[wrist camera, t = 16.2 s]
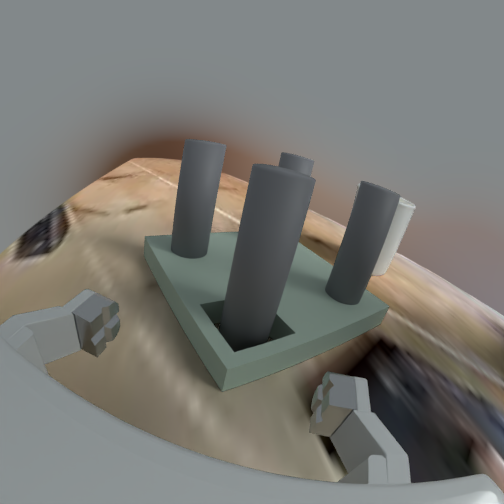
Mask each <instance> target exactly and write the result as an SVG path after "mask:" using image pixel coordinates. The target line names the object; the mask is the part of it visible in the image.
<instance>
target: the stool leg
mask: <svg viewBox="0 0 504 504" xmlns="http://www.w3.org/2000/svg"><path fill="white" fill-rule="evenodd" d="M315 181H316V180H315V179H314V178H312V177H310V176H308V175H305V174H303V173H300V172H297V171H294V170H290V169H286V168H282V167H278V166H273V165H266V164H253V166H252V171H251V175H250V180H249V185H248V189H247V194H246V199H245V203H244V208H243V213H242V218H241V222H240V227H239V232H238V237H237V242H236V247H235V251H234V256H233V261H232V266H231V271H230V276H229V281H228V286H227V291H226V296H225V301H224V306H223V312H222V317H221V322H220V327H219V332H220V334H221V335H222V336H223V338H224V339H225V341H226V342H227V343H228V345H229V346H230V347H231V349H232V350H233V351H234V352H237V351H240V350H244V349H247V348H251V347H254V346H257V345H261V344H264V343H267V340H268V337H269V334H270V331H271V328H272V325H273V322H274V319H275V316H276V313H277V310H278V307H279V304H280V301H281V297H282V294H283V291H284V288H285V285H286V281H287V278H288V275H289V272H290V268H291V265H292V262H293V259H294V255H295V252H296V249H297V245H298V242H299V238H300V235H301V232H302V228H303V225H304V221H305V218H306V214H307V210H308V207H309V203H310V199H311V196H312V192H313V189H314V185H315Z"/></svg>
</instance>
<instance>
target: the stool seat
mask: <svg viewBox="0 0 504 504" xmlns="http://www.w3.org/2000/svg"><path fill="white" fill-rule="evenodd" d="M225 150H226V145H224V144H220V143H215V142H210V141H203V140H194V139H186V140H185V145H184V151H183V157H182V163H181V170H180V176H179V183H178V190H177V198H176V205H175V213H174V222H173V231H172V235H160V236H145V242H144V257H145V259H146V261H147V263H148V265H149V267H150V269H151V271H152V273H153V275H154V277H155V279H156V281H157V283H158V285H159V287H160V289H161V290H162V292H163V294H164V296H165V298H166V300H167V302H168V303H169V305H170V307H171V309H172V311H173V313H174V314H175V316H176V318H177V320H178V321H179V323H180V325H181V327H182V328H183V330H184V332H185V334H186V335H187V337H188V339H189V340H190V342H191V344H192V345H193V347H194V349H195V350H196V352H197V354H198V355H199V357H200V358H201V360H202V362H203V363H204V365H205V366H206V368H207V370H208V371H209V373H210V374H211V376H212V377H213V379H214V380H215V382H216V383H217V385H218V387H219V388H220V390H221V391H222V392H223V391H226V390H229V389H232V388H235V387H238V386H241V385H244V384H246V383H249V382H252V381H255V380H257V379H260V378H263V377H266V376H268V375H271V374H273V373H276V372H279V371H281V370H284V369H286V368H288V367H291V366H293V365H296V364H298V363H301V362H303V361H305V360H308V359H310V358H312V357H314V356H317V355H319V354H321V353H323V352H326V351H328V350H330V349H332V348H334V347H336V346H338V345H340V344H343V343H345V342H347V341H349V340H351V339H353V338H355V337H357V336H359V335H361V334H363V333H365V332H367V331H368V330H370V329H372V328H374V327H376V326H378V325H380V324H381V322H382V320H383V318H384V316H385V314H386V312H387V310H388V308H389V306H388V305H387V304H385V303H384V302H383V301H381V300H380V299H379V298H377V297H376V296H374V295H373V294H372V293H370V292H369V291H368V290H366V286H367V284H368V282H369V280H370V277H371V275H372V272H373V270H374V268H375V265H376V263H377V260H378V258H379V255H380V253H381V250H382V248H383V245H384V242H385V240H386V237H387V234H388V231H389V229H390V226H391V223H392V220H393V217H394V215H395V212H396V209H397V206H398V203H399V200H400V195H399V194H397V193H395V192H393V191H391V190H388V189H386V188H383V187H381V186H378V185H375V184H372V183H369V182H365V181H361V183H360V187H359V190H358V193H357V197H356V200H355V203H354V206H353V210H352V213H351V216H350V219H349V222H348V225H347V228H346V231H345V234H344V237H343V240H342V243H341V246H340V249H339V252H338V254H337V257H336V260H335V263H334V266H332V265H331V264H329V263H328V262H327V261H325V260H324V259H322V258H321V257H319V256H318V255H317V254H315V253H314V252H312V251H311V250H309V249H308V248H306V247H305V246H303V245H302V244H300V243H299V242H298V245H297V249H296V252H295V255H294V259H293V262H292V265H291V268H290V272H289V275H288V278H287V281H286V285H285V288H284V291H283V294H282V297H281V301H280V304H279V307H278V310H277V313H276V316H275V319H274V322H273V325H272V328H271V331H270V334H269V336H270V337H271V338H272V339H273V341H270V342H267V343H264V344H261V345H257V346H254V347H251V348H247V349H244V350H240V351H237V352H234V351H233V350H232V349H231V347H230V346H229V345H228V343H227V342H226V341H225V339H224V338H223V336H222V335H221V334H220V332H219V331H218V330H217V328H216V327H215V325H214V324H216V323H220V322H221V317H222V312H223V306H224V301H225V296H226V291H227V286H228V281H229V276H230V271H231V266H232V261H233V256H234V251H235V247H236V242H237V237H238V232H220V233H211V227H212V221H213V215H214V209H215V203H216V198H217V192H218V187H219V181H220V176H221V170H222V166H223V161H224V155H225ZM313 164H314V161H313V160H311V159H308V158H305V157H301V156H298V155H293V154H289V153H281V158H280V162H279V166H278V167H282V168H286V169H290V170H294V171H297V172H300V173H303V174H305V175H308V176H311V171H312V168H313Z"/></svg>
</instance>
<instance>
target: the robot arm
mask: <svg viewBox="0 0 504 504" xmlns="http://www.w3.org/2000/svg"><path fill="white" fill-rule="evenodd" d="M118 312H119V306H118V303H116V302H115V301H113V300H111V299H108V298H106V297H104V296H102V295H100V294H98V293H96V292H94V291H92V290H90V289H85V290H84V291H82V292H81V293H80V294H78V295H77V296H76V297H74V298H73V299H72V300H71V301H69V302H68V303H67V304H66V305H64V306H63V307H60V306H57V307H52V308H47V309H43V310H38V311H33V312H28V313H23V314H18V315H13V316H12V317H10V318H9V319H8V320H7V321H5V322H4V323H3V324H2V325H0V504H504V494H503V492H502V491H501V490H500V488H499V487H498V486H497V485H496V484H495V483H494V481H493V480H492V479H491V478H489V477H488V476H487V475H485V474H477V475H472V476H467V477H461V478H455V479H448V480H441V481H433V482H422V483H411V480H410V470H409V461H408V455H407V454H406V452H405V451H404V450H403V449H402V447H401V446H400V445H399V444H398V442H397V441H396V440H395V439H394V437H393V436H392V435H391V434H390V432H389V431H388V430H387V428H386V427H385V426H384V425H383V423H382V422H381V421H380V420H379V418H378V417H377V416H376V415H375V413H371V409H370V400H369V392H368V384H367V380H366V379H365V378H359V377H352V376H348V375H343V374H338V373H333V372H327V373H326V374H325V375H324V377H323V384H321V385H319V386H318V387H317V389H316V391H315V393H314V396H313V400H312V405H311V409H312V411H313V412H314V414H313V415H312V417H311V418H310V427H309V433H314V434H319V435H324V436H329V437H330V438H331V440H332V442H333V444H334V446H335V448H336V450H337V452H338V454H339V456H340V458H341V460H342V462H343V464H344V466H345V468H346V470H347V472H348V474H347V475H346V476H345V477H343V478H342V479H341V480H339V481H338V482H327V481H318V480H310V479H303V478H296V477H290V476H285V475H279V474H274V473H269V472H265V471H260V470H256V469H252V468H248V467H244V466H240V465H236V464H233V463H229V462H226V461H222V460H219V459H216V458H213V457H209V456H206V455H203V454H200V453H198V452H195V451H192V450H189V449H186V448H184V447H181V446H178V445H176V444H173V443H171V442H168V441H166V440H164V439H161V438H159V437H156V436H154V435H152V434H150V433H147V432H145V431H143V430H141V429H139V428H137V427H135V426H133V425H131V424H128V423H126V422H124V421H123V420H121V419H119V418H117V417H115V416H113V415H111V414H109V413H107V412H106V411H104V410H102V409H100V408H99V407H97V406H95V405H93V404H92V403H90V402H88V401H87V400H85V399H83V398H82V397H80V396H79V395H77V394H75V393H74V392H72V391H71V390H69V389H68V388H66V387H65V386H63V385H62V384H60V383H59V382H57V381H56V380H54V379H53V378H52V377H50V376H49V375H48V372H47V369H46V367H45V364H47V363H49V362H52V361H54V360H57V359H60V358H62V357H65V356H67V355H70V354H72V353H75V352H77V351H80V350H81V349H82V350H84V351H86V352H88V353H90V354H92V355H94V356H96V357H98V356H99V355H100V354H101V353H102V352H103V351H104V350H105V348H106V343H107V342H110V341H113V340H114V338H115V337H116V336H117V334H118V331H119V328H120V319H119V318H118V316H117V313H118Z"/></svg>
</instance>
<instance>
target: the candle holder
mask: <svg viewBox="0 0 504 504" xmlns="http://www.w3.org/2000/svg"><path fill="white" fill-rule="evenodd" d="M359 187H360V184H358V186H357V192H356V196H355V200H356V197H357V193H358V190H359ZM355 200H354V203H355ZM353 206H354V204H353ZM415 208H416V206H415V205H414V204H413V203H411V202H410V201H408V200H406V199H404V198H402V197H400V200H399V203H398V206H397V209H396V212H395V215H394V217H393V220H392V223H391V226H390V229H389V231H388V234H387V237H386V240H385V242H384V245H383V248H382V250H381V253H380V255H379V258H378V260H377V263H376V265H375V268H374V270H373V272H372V275H373V276H381V275H384V274H385V273H386V271H387V269H388V267H389V265H390V263H391V261H392V259H393V257H394V255H395V253H396V251H397V249H398V247H399V244H400V242H401V240H402V237H403V236H404V233H405V231H406V229H407V226H408V224H409V222H410V219H411V217H412V214H413V212H414V210H415ZM352 210H353V209H352ZM351 213H352V212H351Z"/></svg>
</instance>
